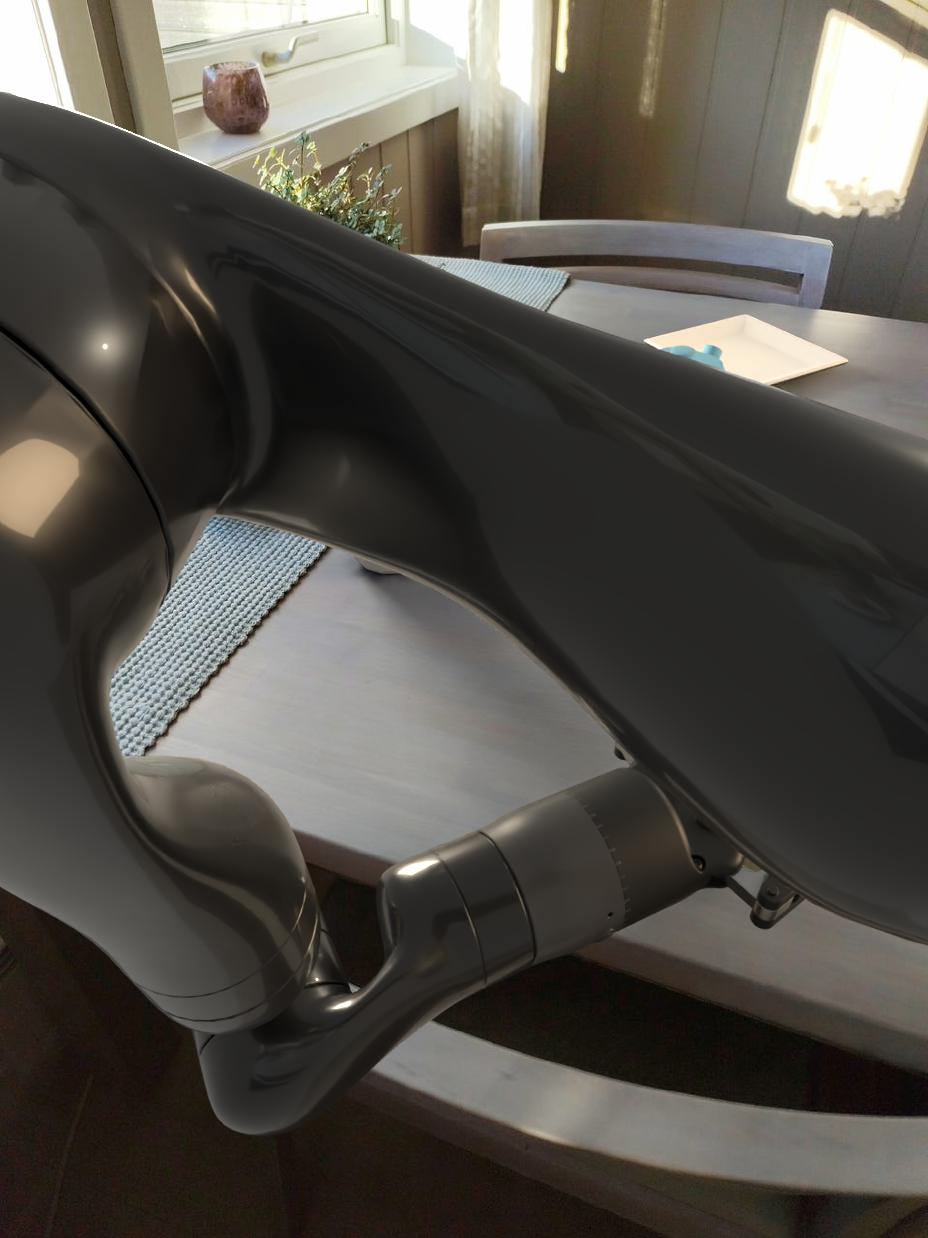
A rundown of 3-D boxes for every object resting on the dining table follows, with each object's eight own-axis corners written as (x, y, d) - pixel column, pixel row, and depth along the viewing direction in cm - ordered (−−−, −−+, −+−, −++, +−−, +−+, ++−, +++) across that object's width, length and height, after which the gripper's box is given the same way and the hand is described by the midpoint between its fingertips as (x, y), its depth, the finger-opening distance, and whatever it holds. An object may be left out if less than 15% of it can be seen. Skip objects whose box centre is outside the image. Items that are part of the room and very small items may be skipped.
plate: (738, 407, 105) (742, 391, 103) (640, 353, 117) (642, 338, 116) (845, 374, 112) (850, 358, 111) (742, 326, 124) (745, 312, 123)
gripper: (673, 939, 37) (950, 802, 43) (514, 722, 47) (756, 635, 53) (650, 1022, 42) (902, 889, 48) (510, 809, 52) (732, 720, 58)
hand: (824, 756), depth 51 cm, fingers closed on candle, 5 cm apart
